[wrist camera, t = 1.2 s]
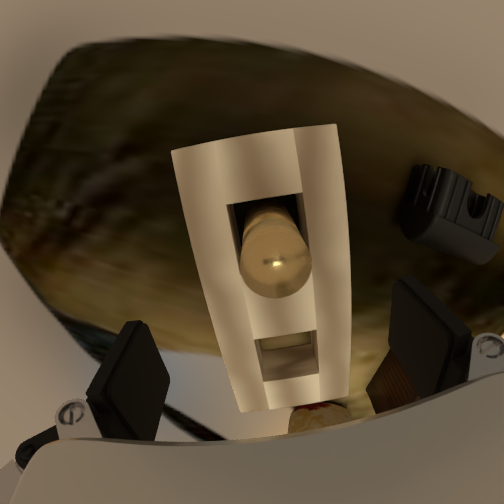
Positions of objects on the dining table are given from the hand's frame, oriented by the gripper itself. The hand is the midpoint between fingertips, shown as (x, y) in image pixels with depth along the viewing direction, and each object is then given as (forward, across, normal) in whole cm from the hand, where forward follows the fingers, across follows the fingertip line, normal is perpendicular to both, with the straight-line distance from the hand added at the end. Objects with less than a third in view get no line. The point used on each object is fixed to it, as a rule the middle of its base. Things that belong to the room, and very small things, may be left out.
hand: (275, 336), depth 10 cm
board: (+17, -1, +6) cm, 18 cm away
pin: (+17, -1, 0) cm, 17 cm away
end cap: (+17, -19, +2) cm, 26 cm away
